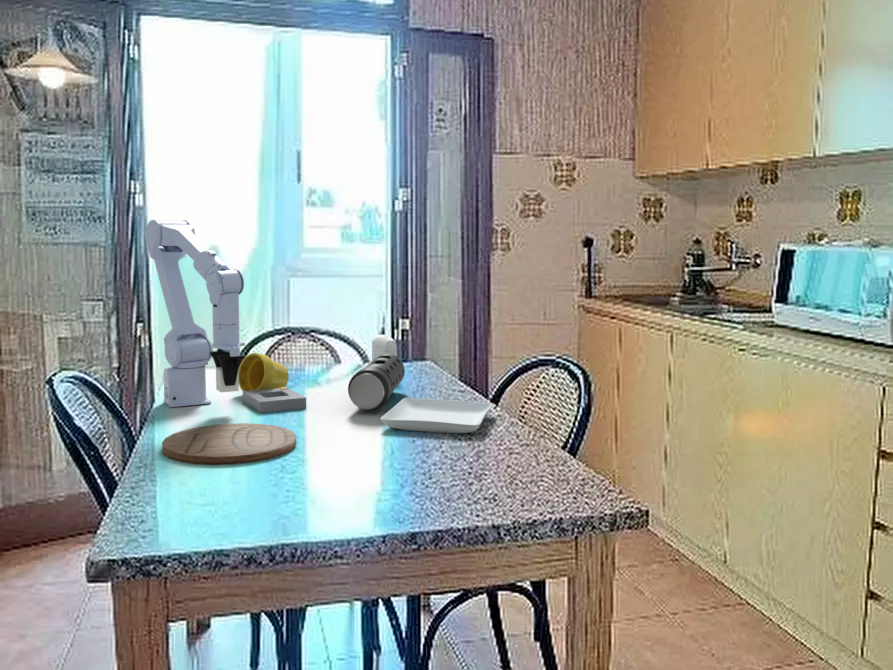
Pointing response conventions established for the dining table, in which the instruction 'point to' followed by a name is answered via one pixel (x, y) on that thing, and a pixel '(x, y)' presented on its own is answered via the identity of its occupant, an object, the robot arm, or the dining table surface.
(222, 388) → the plug block
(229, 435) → the trivet
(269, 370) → the plant pot
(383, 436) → the dining table surface
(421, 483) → the dining table surface
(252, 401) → the socket plate
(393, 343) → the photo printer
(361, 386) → the muzzle brake
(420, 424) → the salad plate
